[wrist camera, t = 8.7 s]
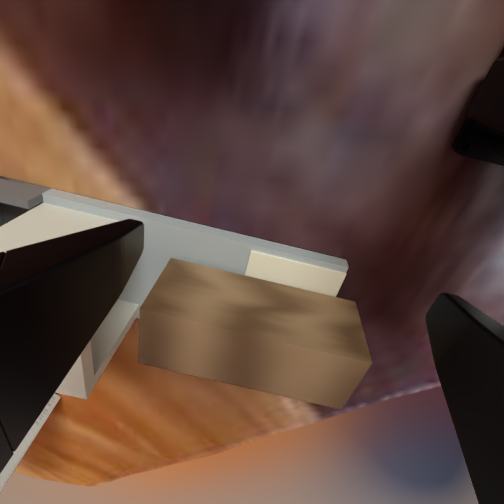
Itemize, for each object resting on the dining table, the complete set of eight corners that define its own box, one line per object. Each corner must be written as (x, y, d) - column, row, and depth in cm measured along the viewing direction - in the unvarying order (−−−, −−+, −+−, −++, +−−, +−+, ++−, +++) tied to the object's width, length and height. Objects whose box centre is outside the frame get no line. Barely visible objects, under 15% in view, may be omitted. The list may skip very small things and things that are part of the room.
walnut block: (355, 301, 23) (372, 362, 18) (331, 346, 25) (341, 409, 21) (170, 257, 22) (139, 308, 18) (166, 307, 25) (138, 362, 20)
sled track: (346, 259, 23) (375, 359, 15) (305, 348, 28) (311, 456, 20) (-12, 173, 22) (-174, 230, 14) (15, 281, 27) (-92, 365, 20)
